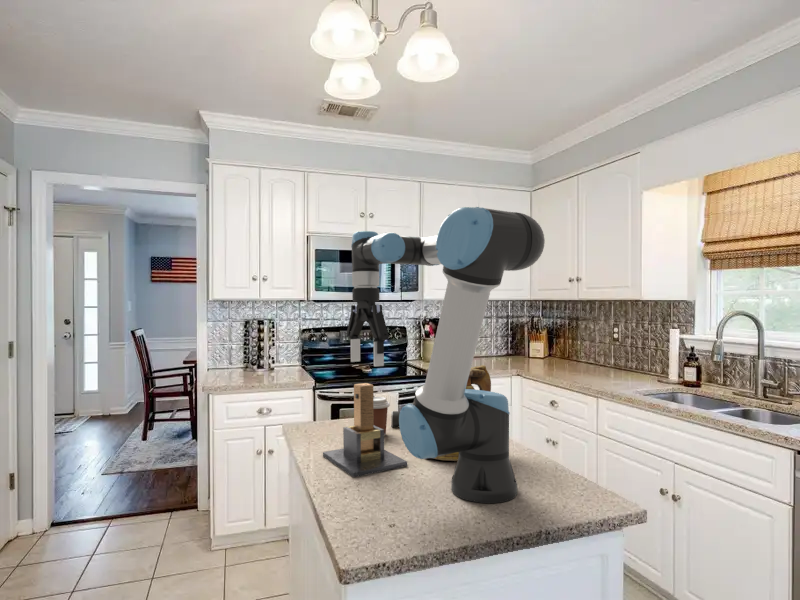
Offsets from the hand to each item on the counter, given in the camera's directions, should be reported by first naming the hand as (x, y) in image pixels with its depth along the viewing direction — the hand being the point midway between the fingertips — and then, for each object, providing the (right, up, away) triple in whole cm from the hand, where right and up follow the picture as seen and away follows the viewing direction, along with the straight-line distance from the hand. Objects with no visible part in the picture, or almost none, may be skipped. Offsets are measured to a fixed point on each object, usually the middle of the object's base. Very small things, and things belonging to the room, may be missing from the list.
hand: (366, 363), depth 134 cm
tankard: (+26, -27, +8) cm, 38 cm away
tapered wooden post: (-1, -26, 0) cm, 26 cm away
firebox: (-1, -27, 0) cm, 27 cm away
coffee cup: (+1, -27, +27) cm, 38 cm away
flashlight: (+14, -28, +38) cm, 49 cm away
